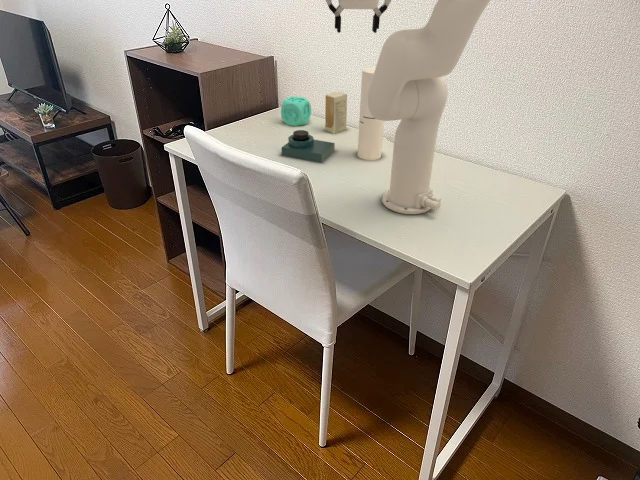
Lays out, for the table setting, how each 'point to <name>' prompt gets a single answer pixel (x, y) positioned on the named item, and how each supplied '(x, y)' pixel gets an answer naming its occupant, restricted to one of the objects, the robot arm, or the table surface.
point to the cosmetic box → (336, 112)
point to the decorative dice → (296, 111)
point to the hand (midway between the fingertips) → (356, 31)
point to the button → (300, 135)
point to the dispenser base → (308, 149)
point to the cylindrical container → (368, 123)
